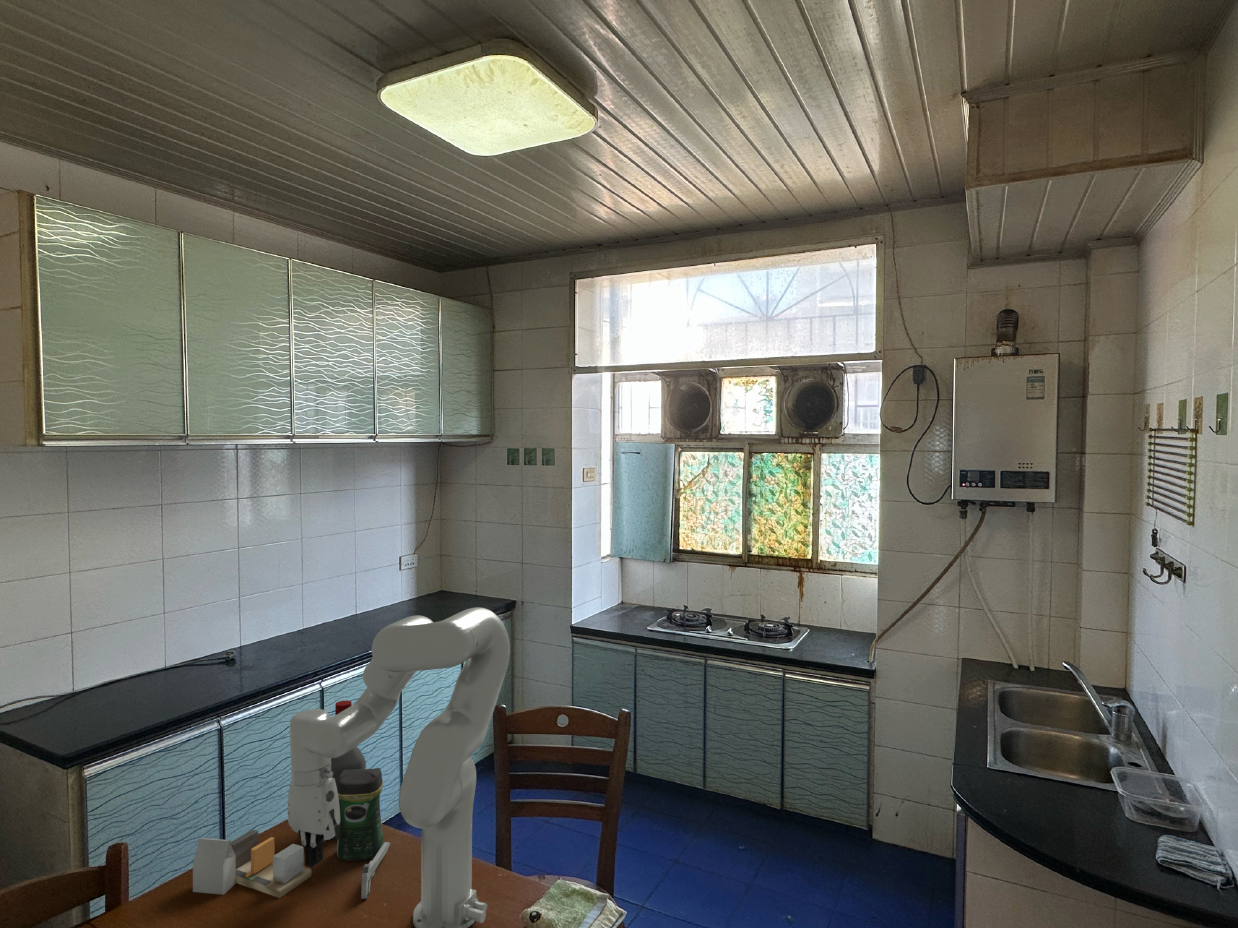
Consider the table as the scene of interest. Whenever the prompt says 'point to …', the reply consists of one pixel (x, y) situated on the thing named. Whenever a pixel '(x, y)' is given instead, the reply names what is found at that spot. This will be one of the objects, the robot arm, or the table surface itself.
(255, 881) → the board
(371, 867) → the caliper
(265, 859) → the orange rectangular slab
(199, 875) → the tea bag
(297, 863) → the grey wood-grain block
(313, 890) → the table surface
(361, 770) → the coffee jar
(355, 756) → the liquor
